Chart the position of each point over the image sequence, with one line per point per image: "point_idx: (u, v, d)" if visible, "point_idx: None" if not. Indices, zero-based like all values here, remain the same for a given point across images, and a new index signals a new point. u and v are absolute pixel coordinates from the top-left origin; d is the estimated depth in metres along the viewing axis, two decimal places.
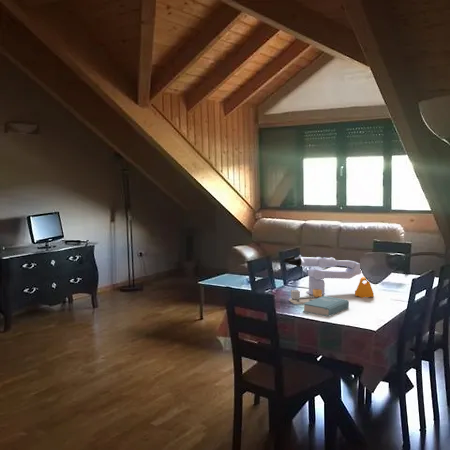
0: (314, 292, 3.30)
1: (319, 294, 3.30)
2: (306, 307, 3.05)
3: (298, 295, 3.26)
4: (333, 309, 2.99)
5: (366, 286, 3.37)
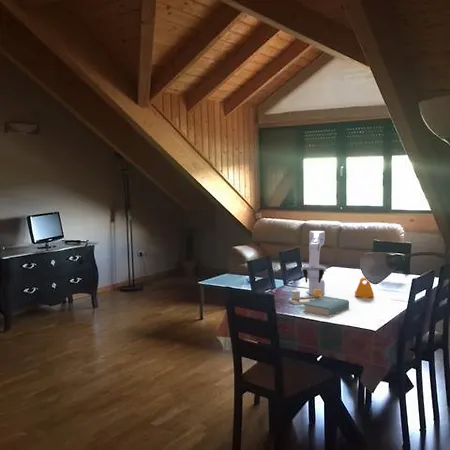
0: (314, 292, 3.30)
1: (319, 294, 3.30)
2: (306, 307, 3.05)
3: (298, 295, 3.26)
4: (333, 309, 2.99)
5: (366, 286, 3.37)
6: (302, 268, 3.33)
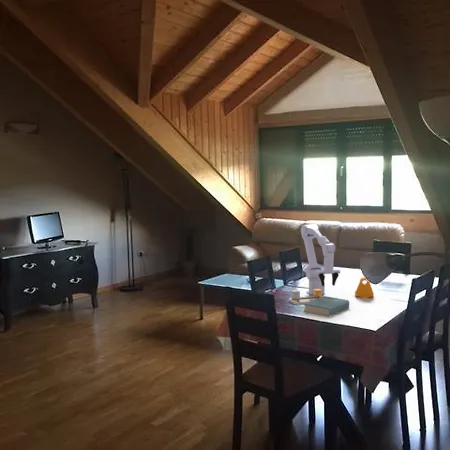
0: (314, 292, 3.30)
1: (319, 294, 3.30)
2: (306, 307, 3.05)
3: (298, 295, 3.26)
4: (334, 309, 2.99)
5: (366, 286, 3.37)
6: (319, 272, 3.29)
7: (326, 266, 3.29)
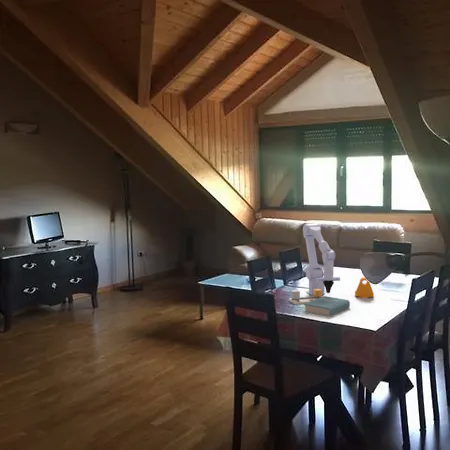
0: (314, 292, 3.30)
1: (319, 294, 3.30)
2: (307, 307, 3.04)
3: (298, 295, 3.26)
4: (334, 309, 2.99)
5: (366, 286, 3.37)
6: (318, 280, 3.30)
7: (326, 273, 3.30)
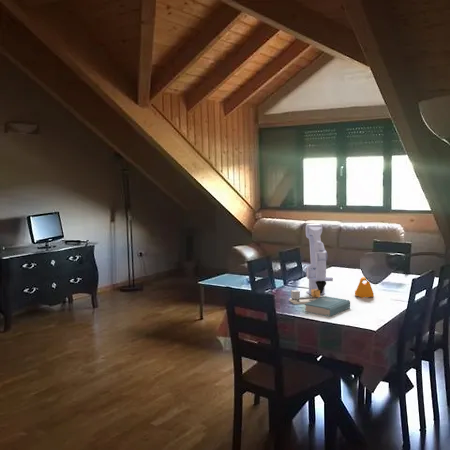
0: (312, 292, 3.30)
1: (317, 294, 3.29)
2: (307, 307, 3.04)
3: (298, 295, 3.26)
4: (334, 309, 2.98)
5: (366, 286, 3.37)
6: (311, 280, 3.28)
7: (318, 274, 3.28)
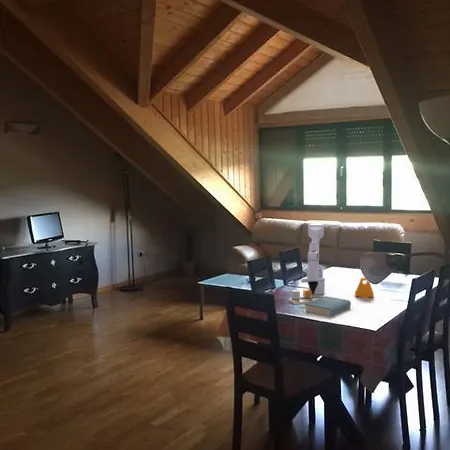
0: (304, 293, 3.29)
1: (309, 295, 3.28)
2: (308, 307, 3.04)
3: (298, 295, 3.26)
4: (335, 309, 2.98)
5: (366, 286, 3.37)
6: (303, 281, 3.27)
7: (310, 274, 3.27)
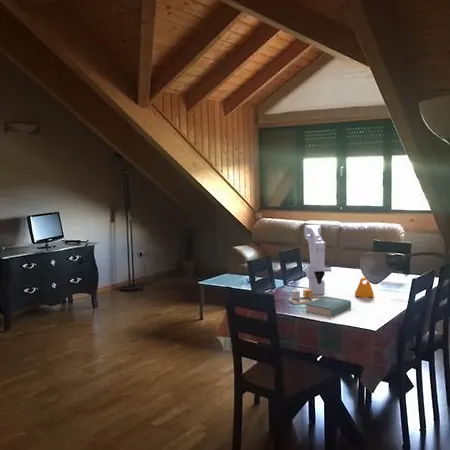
0: (304, 293, 3.29)
1: (309, 295, 3.28)
2: (308, 307, 3.04)
3: (298, 295, 3.26)
4: (335, 309, 2.98)
5: (366, 286, 3.37)
6: (310, 270, 3.30)
7: (317, 264, 3.30)
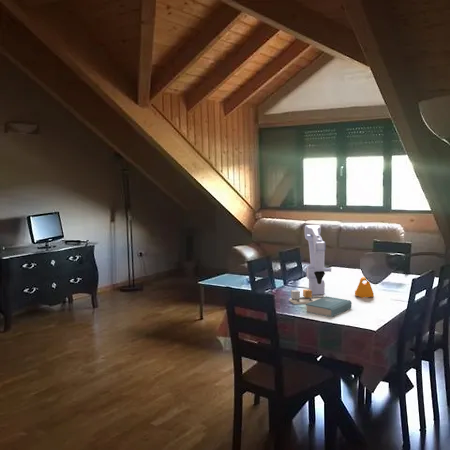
0: (304, 293, 3.29)
1: (309, 295, 3.28)
2: (308, 307, 3.04)
3: (298, 295, 3.26)
4: (336, 310, 2.98)
5: (366, 286, 3.37)
6: (310, 270, 3.30)
7: (317, 264, 3.30)
